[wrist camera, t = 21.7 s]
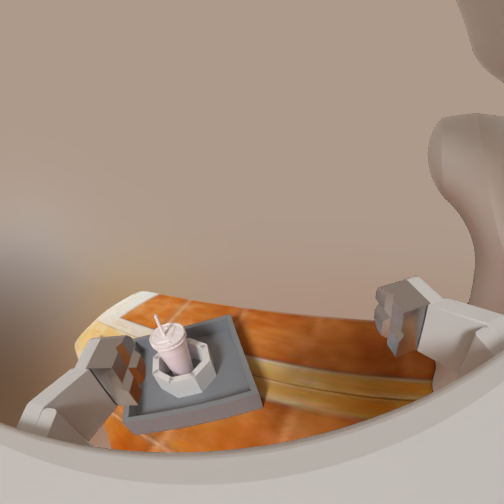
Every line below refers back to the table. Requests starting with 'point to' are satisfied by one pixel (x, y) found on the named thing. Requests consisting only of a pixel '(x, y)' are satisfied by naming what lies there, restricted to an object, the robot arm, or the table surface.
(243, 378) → the tray
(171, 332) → the smoothie
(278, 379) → the table surface
